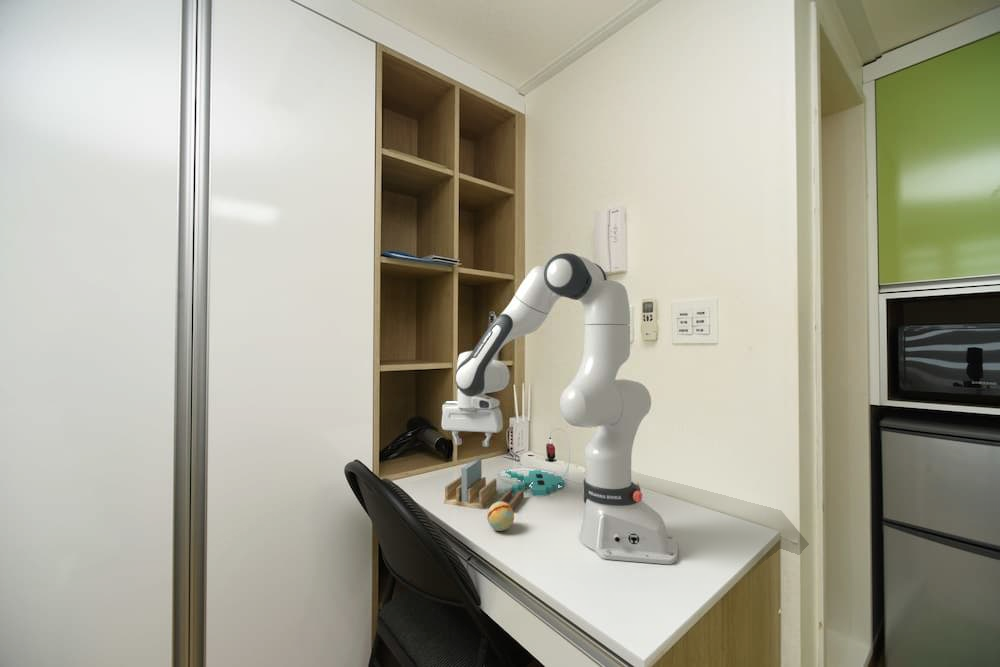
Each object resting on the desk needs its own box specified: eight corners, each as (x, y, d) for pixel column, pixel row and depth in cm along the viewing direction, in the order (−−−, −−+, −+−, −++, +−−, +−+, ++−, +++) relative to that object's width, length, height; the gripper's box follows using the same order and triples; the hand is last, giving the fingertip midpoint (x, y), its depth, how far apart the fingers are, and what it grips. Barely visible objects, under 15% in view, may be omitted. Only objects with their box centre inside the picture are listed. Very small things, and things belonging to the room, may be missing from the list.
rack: (497, 494, 124) (497, 478, 124) (482, 509, 112) (482, 491, 113) (461, 489, 128) (461, 474, 129) (444, 503, 117) (444, 486, 117)
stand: (523, 498, 121) (523, 490, 121) (511, 513, 109) (510, 504, 109) (509, 496, 122) (509, 488, 122) (496, 511, 111) (496, 502, 111)
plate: (481, 489, 125) (481, 458, 126) (466, 502, 115) (466, 468, 115) (476, 489, 126) (476, 458, 126) (461, 501, 116) (461, 468, 116)
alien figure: (504, 497, 123) (567, 496, 123) (504, 490, 123) (566, 489, 123) (505, 476, 143) (558, 476, 143) (505, 470, 143) (558, 470, 143)
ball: (486, 524, 103) (486, 497, 103) (512, 522, 104) (511, 496, 104) (488, 537, 96) (488, 508, 96) (516, 535, 97) (515, 507, 97)
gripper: (437, 401, 122) (438, 445, 122) (496, 403, 115) (497, 449, 114) (447, 399, 128) (447, 441, 127) (504, 400, 121) (505, 445, 120)
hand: (471, 445), depth 121 cm, fingers open, 8 cm apart
